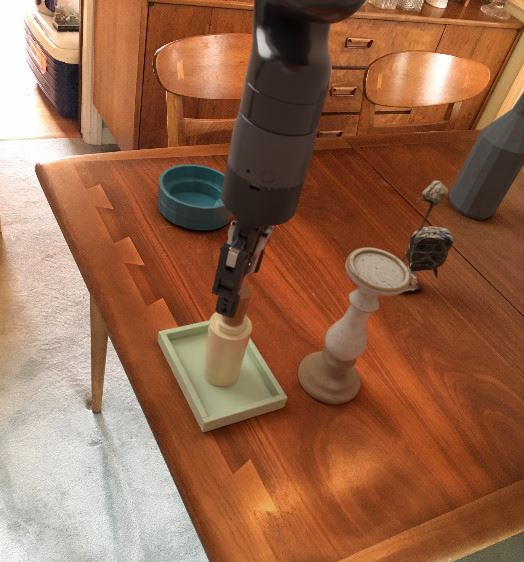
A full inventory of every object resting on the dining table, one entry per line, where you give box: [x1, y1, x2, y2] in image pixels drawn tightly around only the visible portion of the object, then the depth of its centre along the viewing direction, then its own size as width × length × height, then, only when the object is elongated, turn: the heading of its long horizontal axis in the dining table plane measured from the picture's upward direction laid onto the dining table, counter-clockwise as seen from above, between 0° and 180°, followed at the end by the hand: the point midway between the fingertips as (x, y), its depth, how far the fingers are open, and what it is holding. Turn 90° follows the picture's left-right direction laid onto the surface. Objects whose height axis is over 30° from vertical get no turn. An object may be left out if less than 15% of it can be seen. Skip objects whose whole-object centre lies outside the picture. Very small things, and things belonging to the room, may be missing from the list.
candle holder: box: [297, 246, 410, 405], centre depth 70 cm, size 9×9×20 cm
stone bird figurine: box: [401, 179, 457, 292], centre depth 89 cm, size 8×11×20 cm
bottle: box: [448, 91, 524, 221], centre depth 108 cm, size 10×10×30 cm
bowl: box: [156, 163, 234, 231], centre depth 96 cm, size 13×13×5 cm
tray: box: [157, 319, 288, 433], centre depth 73 cm, size 16×12×2 cm
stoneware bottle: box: [201, 284, 253, 387], centre depth 68 cm, size 5×5×14 cm
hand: (238, 290), depth 63 cm, fingers open, 8 cm apart
